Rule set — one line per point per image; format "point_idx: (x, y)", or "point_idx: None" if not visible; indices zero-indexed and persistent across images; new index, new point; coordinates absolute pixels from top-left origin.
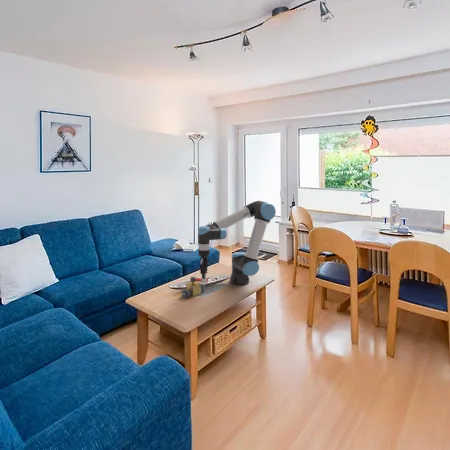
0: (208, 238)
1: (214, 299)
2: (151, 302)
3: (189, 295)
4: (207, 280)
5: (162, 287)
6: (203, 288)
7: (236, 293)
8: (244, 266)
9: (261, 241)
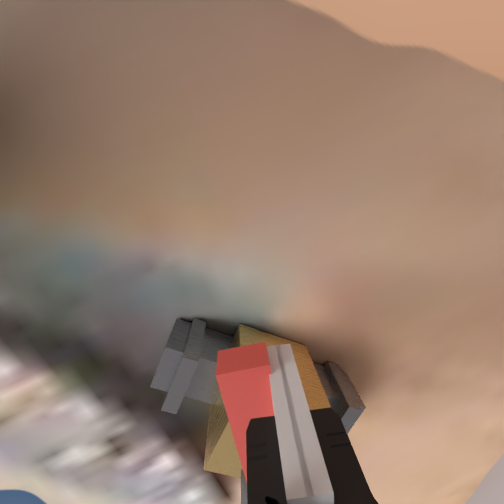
0: None
1: (292, 184)
2: (428, 482)
3: (319, 371)
4: (230, 354)
5: None
6: (197, 339)
7: (75, 16)
8: None
9: None
